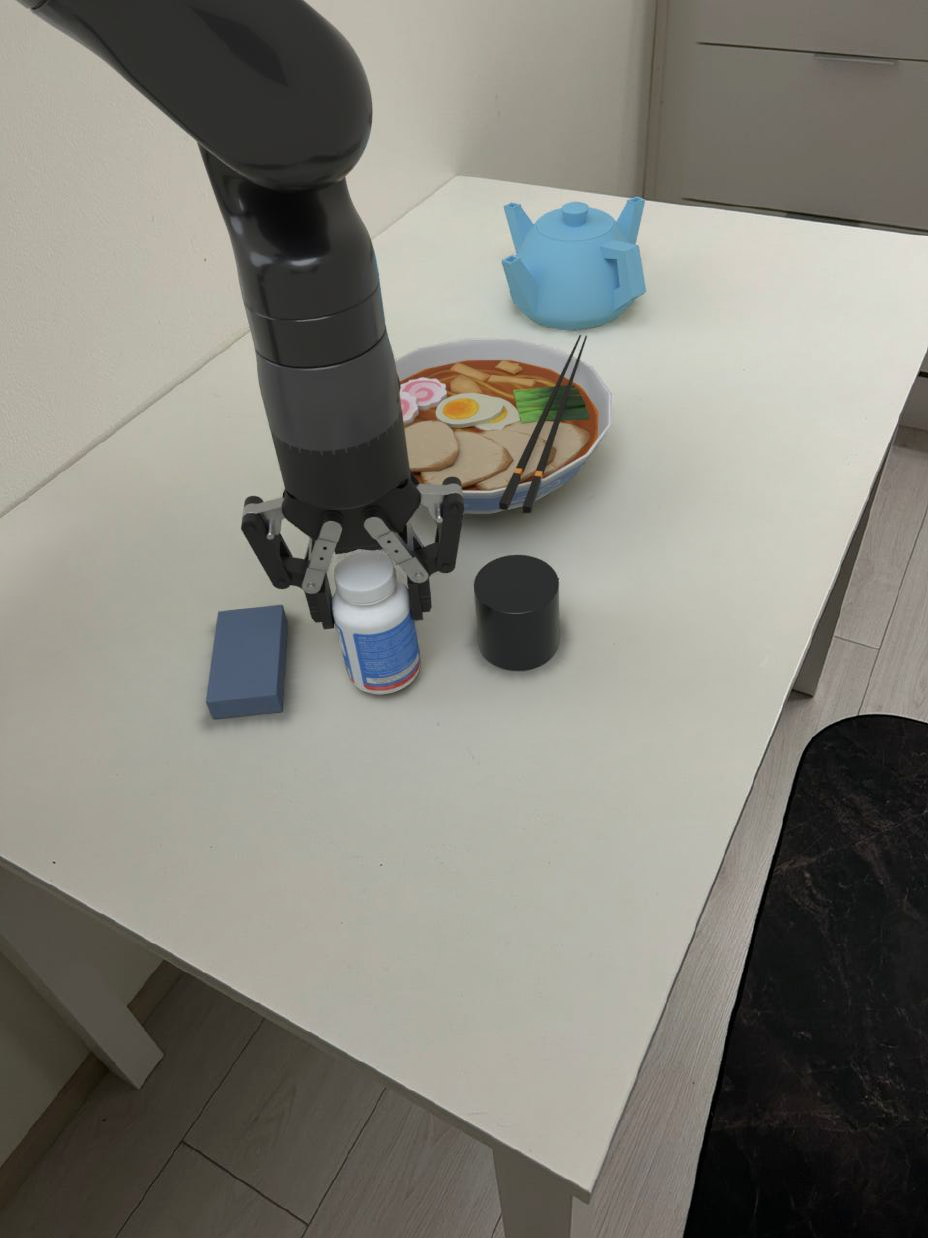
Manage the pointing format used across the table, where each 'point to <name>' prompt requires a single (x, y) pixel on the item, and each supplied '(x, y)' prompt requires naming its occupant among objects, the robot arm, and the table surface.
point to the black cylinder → (517, 612)
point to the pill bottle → (374, 623)
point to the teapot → (575, 264)
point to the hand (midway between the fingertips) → (373, 615)
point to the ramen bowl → (500, 418)
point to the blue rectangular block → (248, 662)
